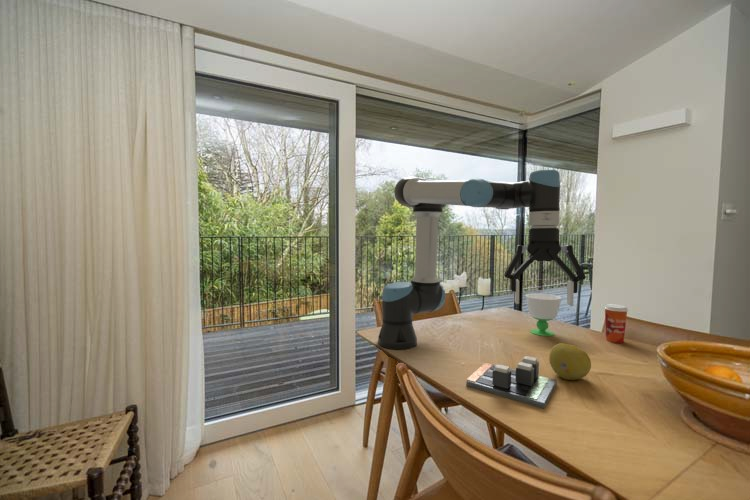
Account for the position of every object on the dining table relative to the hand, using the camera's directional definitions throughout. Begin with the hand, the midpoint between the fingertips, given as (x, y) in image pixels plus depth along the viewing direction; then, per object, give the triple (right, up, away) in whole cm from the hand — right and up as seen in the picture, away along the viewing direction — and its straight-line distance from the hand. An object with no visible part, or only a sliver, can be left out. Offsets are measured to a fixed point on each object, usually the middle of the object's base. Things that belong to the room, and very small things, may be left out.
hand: (542, 304), depth 93 cm
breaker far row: (-2, -21, +4) cm, 22 cm away
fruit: (+11, -23, +7) cm, 27 cm away
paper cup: (+48, -21, +39) cm, 65 cm away
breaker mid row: (-5, -22, 0) cm, 22 cm away
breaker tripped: (-12, -22, -2) cm, 25 cm away
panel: (-8, -23, +2) cm, 25 cm away
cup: (+25, -21, +50) cm, 59 cm away
